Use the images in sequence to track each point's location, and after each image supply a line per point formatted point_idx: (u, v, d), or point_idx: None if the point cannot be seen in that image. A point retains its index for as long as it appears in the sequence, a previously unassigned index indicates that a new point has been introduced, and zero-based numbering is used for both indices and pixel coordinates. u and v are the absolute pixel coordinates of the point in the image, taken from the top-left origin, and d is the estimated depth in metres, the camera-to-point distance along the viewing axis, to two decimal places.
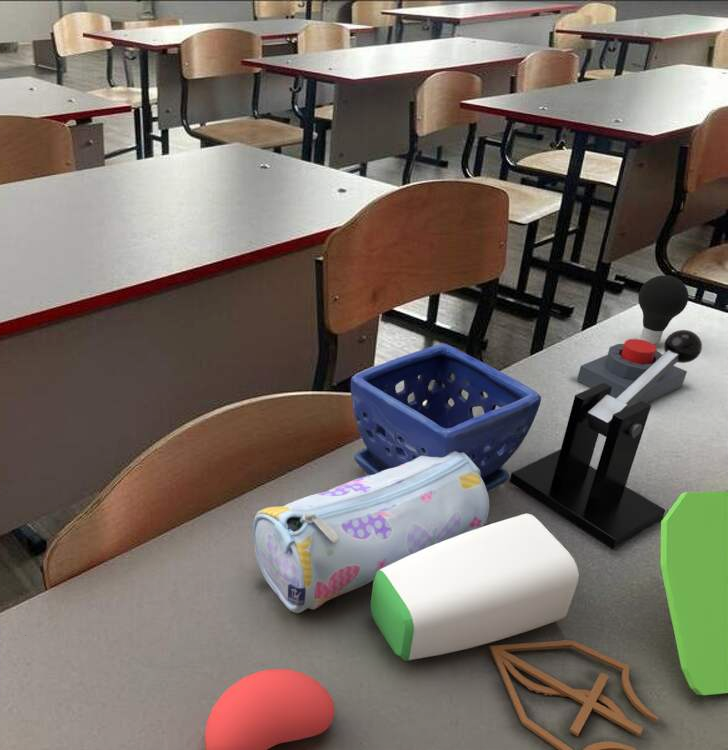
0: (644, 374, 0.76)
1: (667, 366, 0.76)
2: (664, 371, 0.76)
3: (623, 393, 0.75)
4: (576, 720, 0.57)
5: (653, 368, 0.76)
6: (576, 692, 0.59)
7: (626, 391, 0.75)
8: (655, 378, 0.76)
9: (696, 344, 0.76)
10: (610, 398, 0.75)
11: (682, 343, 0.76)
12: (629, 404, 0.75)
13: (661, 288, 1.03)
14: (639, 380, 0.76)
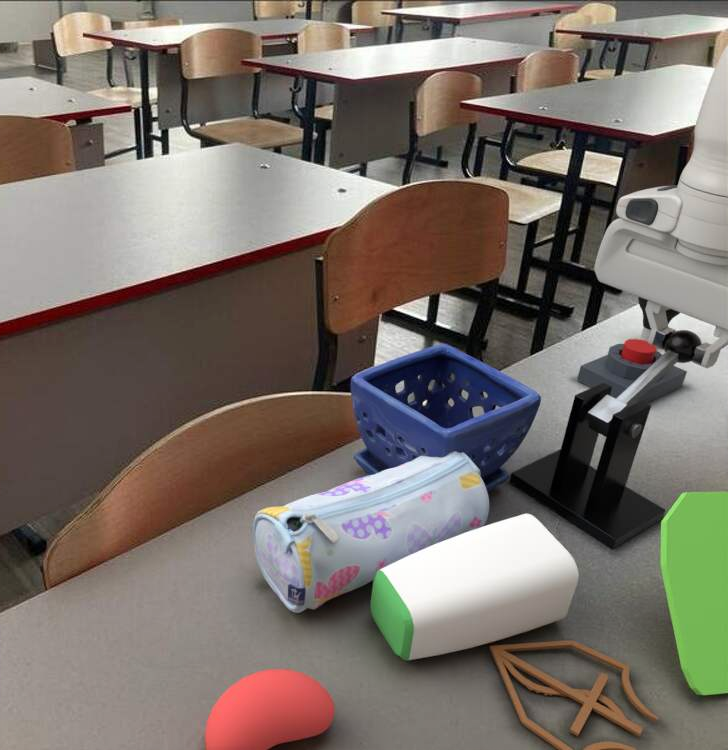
0: (644, 374, 0.76)
1: (667, 366, 0.76)
2: (664, 371, 0.76)
3: (623, 393, 0.75)
4: (576, 720, 0.57)
5: (653, 368, 0.76)
6: (576, 692, 0.59)
7: (626, 391, 0.75)
8: (655, 378, 0.76)
9: (696, 344, 0.76)
10: (610, 398, 0.75)
11: (682, 343, 0.76)
12: (629, 404, 0.75)
13: None
14: (639, 380, 0.76)
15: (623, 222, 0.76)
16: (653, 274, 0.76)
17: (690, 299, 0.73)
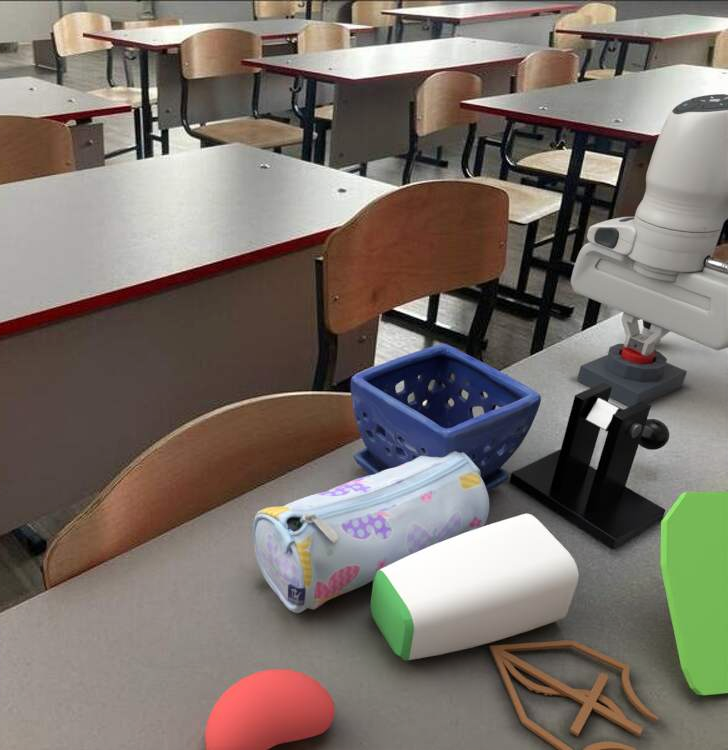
0: None
1: (646, 429, 0.79)
2: (643, 431, 0.79)
3: None
4: (576, 720, 0.57)
5: None
6: (576, 692, 0.59)
7: None
8: None
9: (668, 432, 0.81)
10: None
11: (659, 423, 0.81)
12: None
13: None
14: None
15: (592, 245, 0.96)
16: (616, 287, 0.96)
17: (644, 307, 0.93)
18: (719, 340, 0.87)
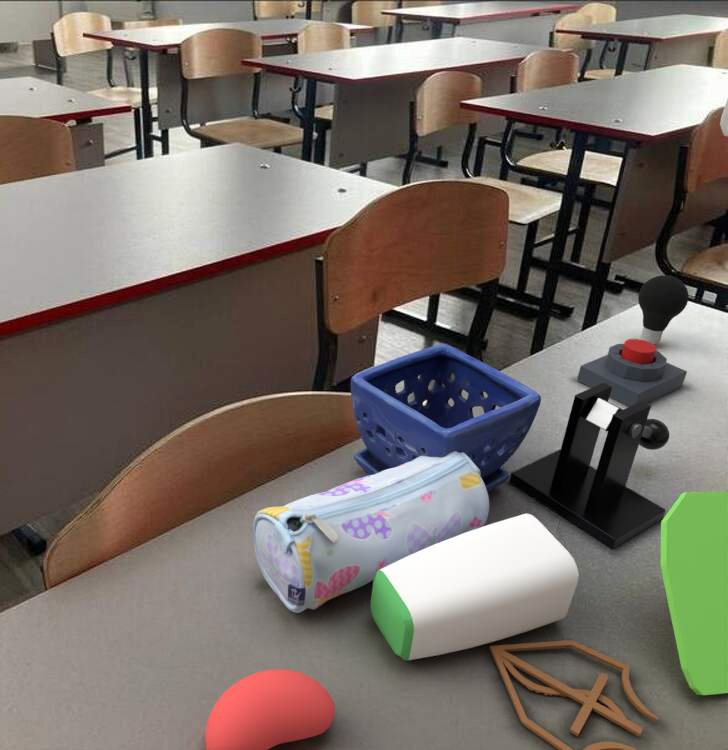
0: None
1: (646, 429, 0.79)
2: (643, 431, 0.79)
3: None
4: (576, 720, 0.57)
5: None
6: (576, 692, 0.59)
7: None
8: None
9: (668, 432, 0.81)
10: None
11: (659, 423, 0.81)
12: None
13: (661, 288, 1.03)
14: None
15: None
16: None
17: None
18: None
